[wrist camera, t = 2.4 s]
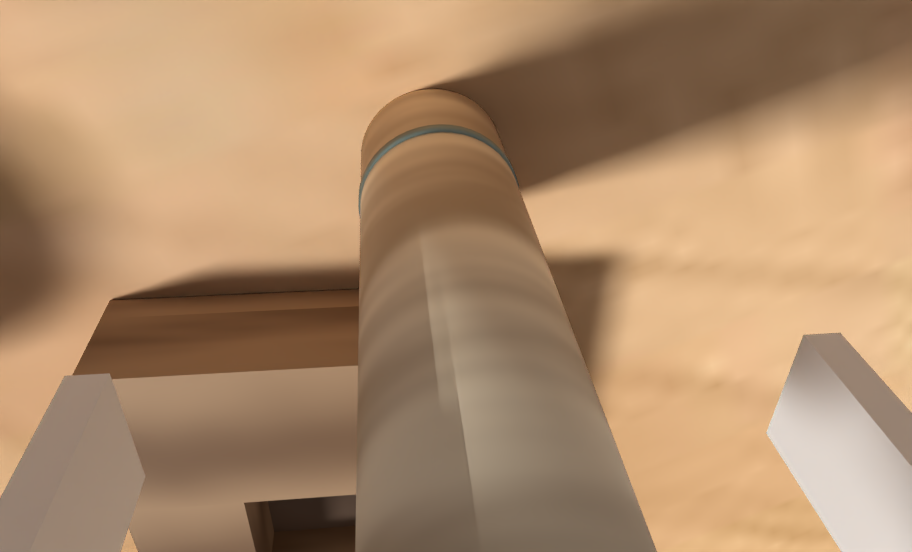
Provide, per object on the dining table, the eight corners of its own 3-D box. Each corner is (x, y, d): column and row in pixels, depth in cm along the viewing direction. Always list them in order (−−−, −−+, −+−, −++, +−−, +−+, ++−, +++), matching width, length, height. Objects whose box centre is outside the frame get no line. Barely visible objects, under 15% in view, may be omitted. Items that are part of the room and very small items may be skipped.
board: (109, 300, 24) (69, 381, 21) (514, 282, 25) (536, 355, 22) (207, 595, 34) (190, 680, 31) (491, 571, 35) (503, 650, 32)
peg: (355, 88, 20) (334, 612, 7) (506, 85, 21) (736, 576, 8) (363, 221, 23) (360, 783, 10) (498, 216, 24) (661, 749, 10)
